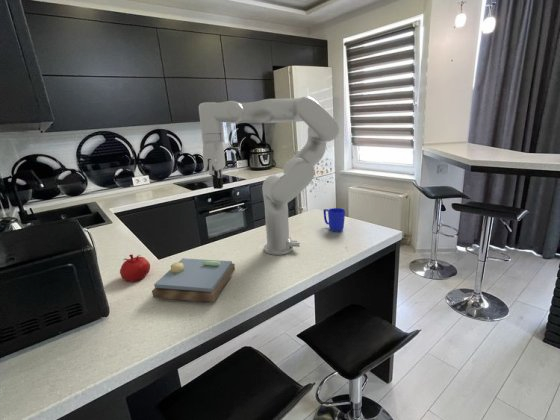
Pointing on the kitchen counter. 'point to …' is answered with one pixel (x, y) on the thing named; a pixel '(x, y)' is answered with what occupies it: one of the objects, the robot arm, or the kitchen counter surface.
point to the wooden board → (193, 294)
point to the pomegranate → (134, 268)
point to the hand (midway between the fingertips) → (218, 188)
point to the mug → (335, 218)
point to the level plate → (194, 275)
